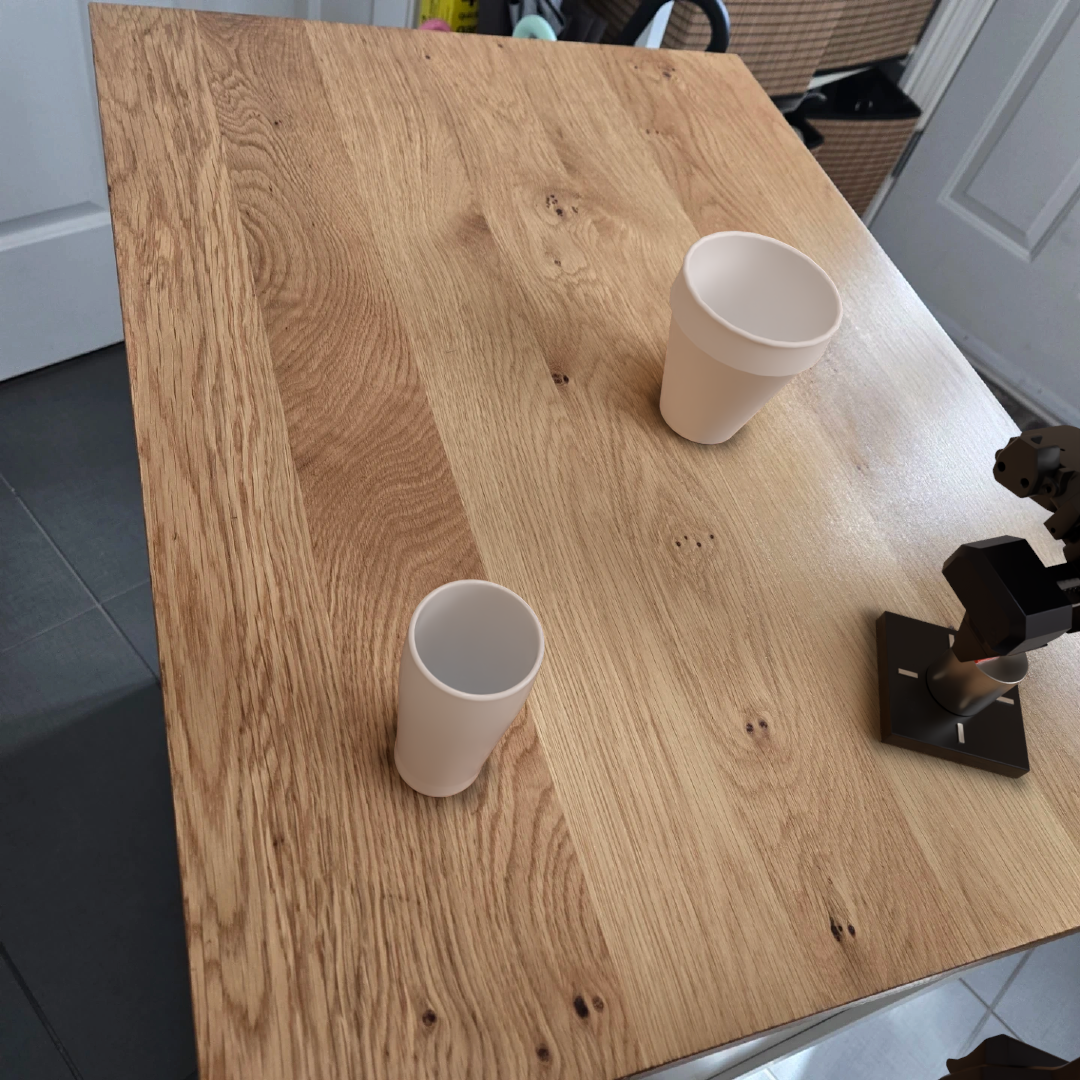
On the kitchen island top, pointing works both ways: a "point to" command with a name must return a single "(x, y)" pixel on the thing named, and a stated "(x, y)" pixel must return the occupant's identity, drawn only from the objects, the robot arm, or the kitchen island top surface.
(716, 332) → the cup
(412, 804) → the kitchen island top surface
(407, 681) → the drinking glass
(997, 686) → the hob knob
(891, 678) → the hob panel
